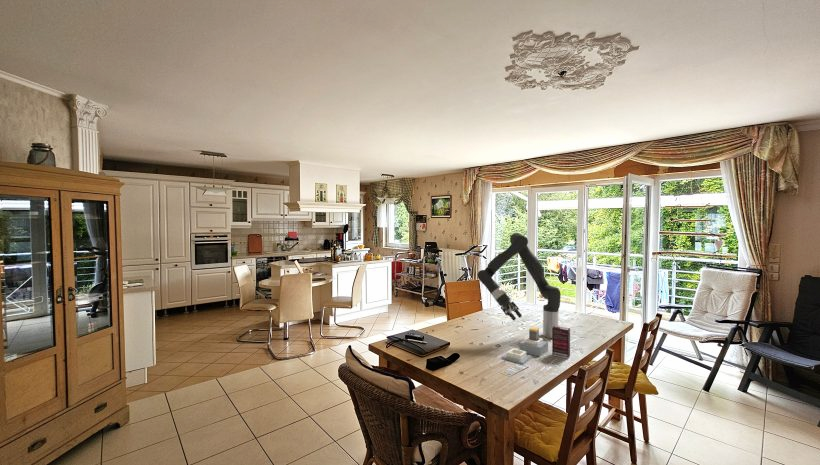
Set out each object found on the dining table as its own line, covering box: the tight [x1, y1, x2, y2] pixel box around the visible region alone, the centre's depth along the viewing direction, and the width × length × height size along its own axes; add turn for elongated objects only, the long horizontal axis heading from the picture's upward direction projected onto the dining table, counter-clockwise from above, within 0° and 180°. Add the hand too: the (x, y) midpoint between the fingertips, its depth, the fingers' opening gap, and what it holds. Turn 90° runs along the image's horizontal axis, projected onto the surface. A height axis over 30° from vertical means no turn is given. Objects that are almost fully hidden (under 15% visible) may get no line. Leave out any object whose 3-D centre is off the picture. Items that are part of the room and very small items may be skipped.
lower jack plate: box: [501, 347, 533, 365], centre depth 181 cm, size 12×12×4 cm
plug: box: [528, 326, 540, 341], centre depth 192 cm, size 4×4×8 cm
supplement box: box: [551, 325, 571, 359], centre depth 185 cm, size 9×5×16 cm, turn 53°
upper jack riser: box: [519, 336, 549, 357], centre depth 192 cm, size 12×12×7 cm
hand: (518, 318), depth 198 cm, fingers open, 8 cm apart
